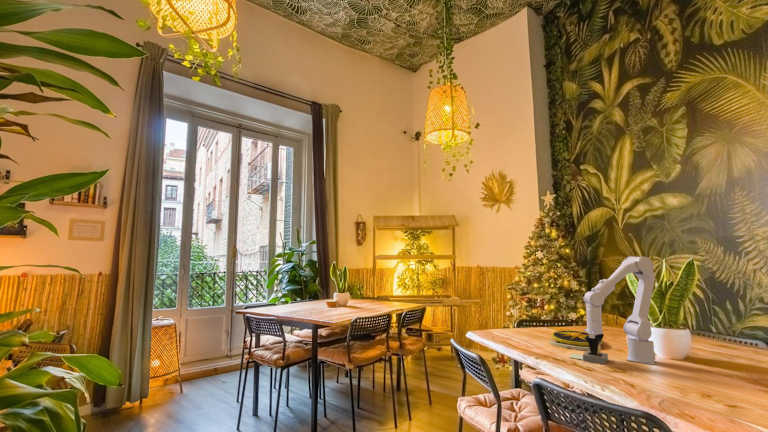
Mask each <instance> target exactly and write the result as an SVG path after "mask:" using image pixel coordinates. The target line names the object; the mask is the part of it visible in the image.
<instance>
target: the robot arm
mask: <svg viewBox="0 0 768 432" xmlns="http://www.w3.org/2000/svg"><path fill="white" fill-rule="evenodd" d="M654 267H655V263H654V262H653V260H651V258H649V257H648V256H633V255H630V256H627V257H626V258H625V259H624V260H622V261H621V264H620V265H619V266H618V268H616V270H615V271H614V272H613V273H612V274H611V275H610V276H609V278H607V279H606V278H603V279H600V280H598V283H597V284H596V285H595V287H592V288H591V290H590V291H587V292H586V293H584V296H583V297H582V299H583V302H584V303H585V307H586V308H585V309H586V328H585V329H584V328H583V332H587V333H589V336H586V337H585V338H586V340H587V342H588V344H589V346H588V347H589V348H590V352H591V354H594V355H597V352H598V345H599V342H600V341H602V338H603V339H604V336H605V334H604V331H603V314H602V312H603V311H602V306H603V305H604V303H605V299H606V298H607V297H608V296H610V294H611V293H612V292H613V291H614V290H615V289H616V284H617V283H619V282H620V281H621V280H623V278H625V277H626V276H627V275H628V274H632V273H633V274H634V275H635V276H636V277H637V278H638V284H637V287H636V288H637V289H636V294H635V297H634V299H635V300H634V303H633V309H632V314H631V315H630V316H628V317H627V319H626V322H625V323H624V324H623V331H624V333H625V334H626V337H627V351H628V353H627V357H626V361H629V362H636V363H642V364H649V365H654V364H655V360H656V355H655V344H654V341H653V340H650V338H651V337H652V335H653V334H652V333H653V332H652V328H651V327H652V323H651V321H650V320H649V319H648V317H649V316H648V315H649V311H650V307H651V300H652V297H653V296H652V295H653V291H654V286H655V281H656V276H655V271H654ZM601 345H602V344H600V347H602V346H601Z"/></svg>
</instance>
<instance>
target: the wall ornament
mask: <svg viewBox="0 0 768 432" xmlns="http://www.w3.org/2000/svg"><path fill="white" fill-rule="evenodd" d="M586 336H589V333H588V332H586V331H580V330H567V329H566V330H556V331H553V332H552V333H551V338H552V339H553V340H555V341H553V340H551V339H550V340H549V343H550V344H551V345H552V346H554V347H559V348H562V349H563V348H564V349H568V350H574V349H576V350H575V351H585V352H586V351H590V348H589V344H588V342H587V340H586V338H585V337H586ZM556 341H557V342H556ZM603 343H604V337H603V338H602V341H601V345H602V344H603Z"/></svg>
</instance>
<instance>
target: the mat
mask: <svg viewBox="0 0 768 432" xmlns="http://www.w3.org/2000/svg"><path fill="white" fill-rule="evenodd" d="M568 358H569V359H572V358H575V359H574V360H578V359H581V360H580V361H583V354H577V353H572V354H571V355H570V356H569V357H568Z"/></svg>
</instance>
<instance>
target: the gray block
mask: <svg viewBox="0 0 768 432" xmlns="http://www.w3.org/2000/svg"><path fill="white" fill-rule="evenodd" d="M582 355H583V360H582V362H586V361H588V362H587V363H592V362H593V364H598V363H600V364H599V365H604V364H605V365H606V363H607V362H608V361H609V360H608V359H609V357H608V356H609V355H608V353H606V352H601V357H600V356H594V355H590V351H585V352H584V353H583V354H582Z"/></svg>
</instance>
